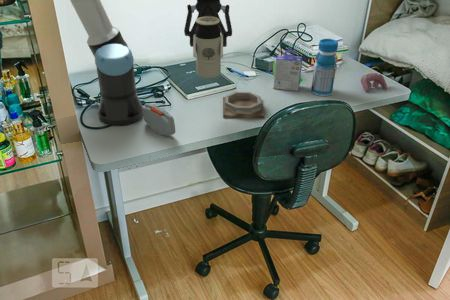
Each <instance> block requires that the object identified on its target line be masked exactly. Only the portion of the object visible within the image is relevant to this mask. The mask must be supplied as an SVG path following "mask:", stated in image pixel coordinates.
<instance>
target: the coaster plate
mask: <svg viewBox="0 0 450 300" xmlns="http://www.w3.org/2000/svg"><path fill="white" fill-rule="evenodd" d="M225 118H226V119H228V118H229V119H233V118H234V119H239V118H241V119H264V118H265V113H264V108H263V101H262V97H261V96H260V95H258V94H255V93H252V91H233V92H231V93H229V94H226V95H225V96H222V119H225Z"/></svg>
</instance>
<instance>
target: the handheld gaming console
mask: <svg viewBox="0 0 450 300" xmlns="http://www.w3.org/2000/svg"><path fill="white" fill-rule="evenodd" d="M144 105H145V106H144V107H143V117H142V118H143V121H144V122H145V124H146V125H147V126H148V128H149V129H150V130H152V131H154V132H156V133H157V134H158V135H160V136H167V137H170V136H172V135H175V134H176V127H175V126H176V125H175V118H174V117H173V115H171V114H170V113H169V112H168V111H167V110H164V109H163V108H161V107H159V106H158V105H155V104H150V103H146V104H144Z"/></svg>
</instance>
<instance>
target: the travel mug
mask: <svg viewBox="0 0 450 300" xmlns="http://www.w3.org/2000/svg"><path fill="white" fill-rule="evenodd" d="M220 20H221V19H220ZM220 20H219V19H218V18H216V17H208V16H207V17H200V18H197V17H196V19H195V21H196V22H197V28H196V30H195V37H196V57H195V60H196V61H195V63H196V64H195V65H196V75H197V76H199V77H201V78H204V79H212V78H213V79H214V78H217V77H219V76H220V75H221V74H222V73H221V67H222V66H221V63H222V62H221V60H222V59H221V58H222V57H221V35H222V34H221V30H220V28H219V22H220Z"/></svg>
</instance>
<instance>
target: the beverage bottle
mask: <svg viewBox="0 0 450 300" xmlns="http://www.w3.org/2000/svg"><path fill="white" fill-rule="evenodd" d="M338 48H339V42H338V40H336V39H332V38H322V39H320V40H319V41H318V52H317V54H316V55H315V56H314V60H315V62H314V63H313V73H312V74H313V75H312V82H311V87H310V91H311V92H312V94H314V95H317V96H319V97H327V96H330V95H332V94H333V90H334V83H335V78H336V77H335V76H336V71H337V68H338V65H337V63H338V55H337V51H338Z"/></svg>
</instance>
